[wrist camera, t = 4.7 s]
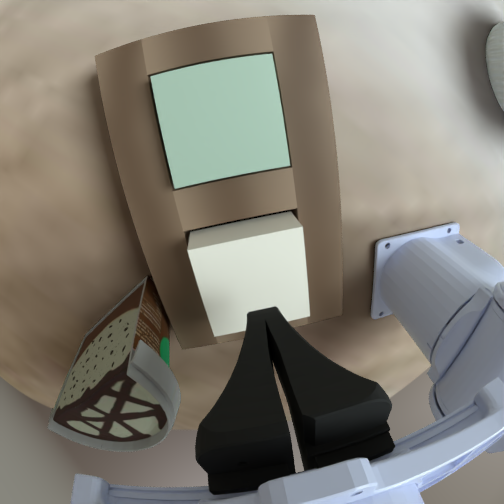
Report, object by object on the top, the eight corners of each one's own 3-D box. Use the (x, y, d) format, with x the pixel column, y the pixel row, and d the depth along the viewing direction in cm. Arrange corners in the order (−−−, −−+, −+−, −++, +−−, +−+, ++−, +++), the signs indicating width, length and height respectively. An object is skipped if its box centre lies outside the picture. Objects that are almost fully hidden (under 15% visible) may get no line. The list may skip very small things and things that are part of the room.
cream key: (290, 211, 17) (302, 226, 15) (299, 293, 20) (310, 316, 18) (190, 231, 17) (187, 250, 15) (213, 312, 20) (214, 336, 18)
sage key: (263, 62, 14) (272, 53, 12) (279, 158, 17) (290, 165, 15) (159, 81, 14) (150, 76, 12) (179, 178, 17) (174, 188, 14)
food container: (128, 377, 25) (112, 465, 16) (78, 341, 23) (45, 429, 14) (218, 313, 23) (226, 422, 14) (160, 263, 20) (133, 369, 12)
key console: (299, 28, 14) (314, 14, 12) (329, 292, 23) (342, 315, 21) (111, 63, 14) (94, 55, 11) (184, 323, 23) (182, 349, 20)
